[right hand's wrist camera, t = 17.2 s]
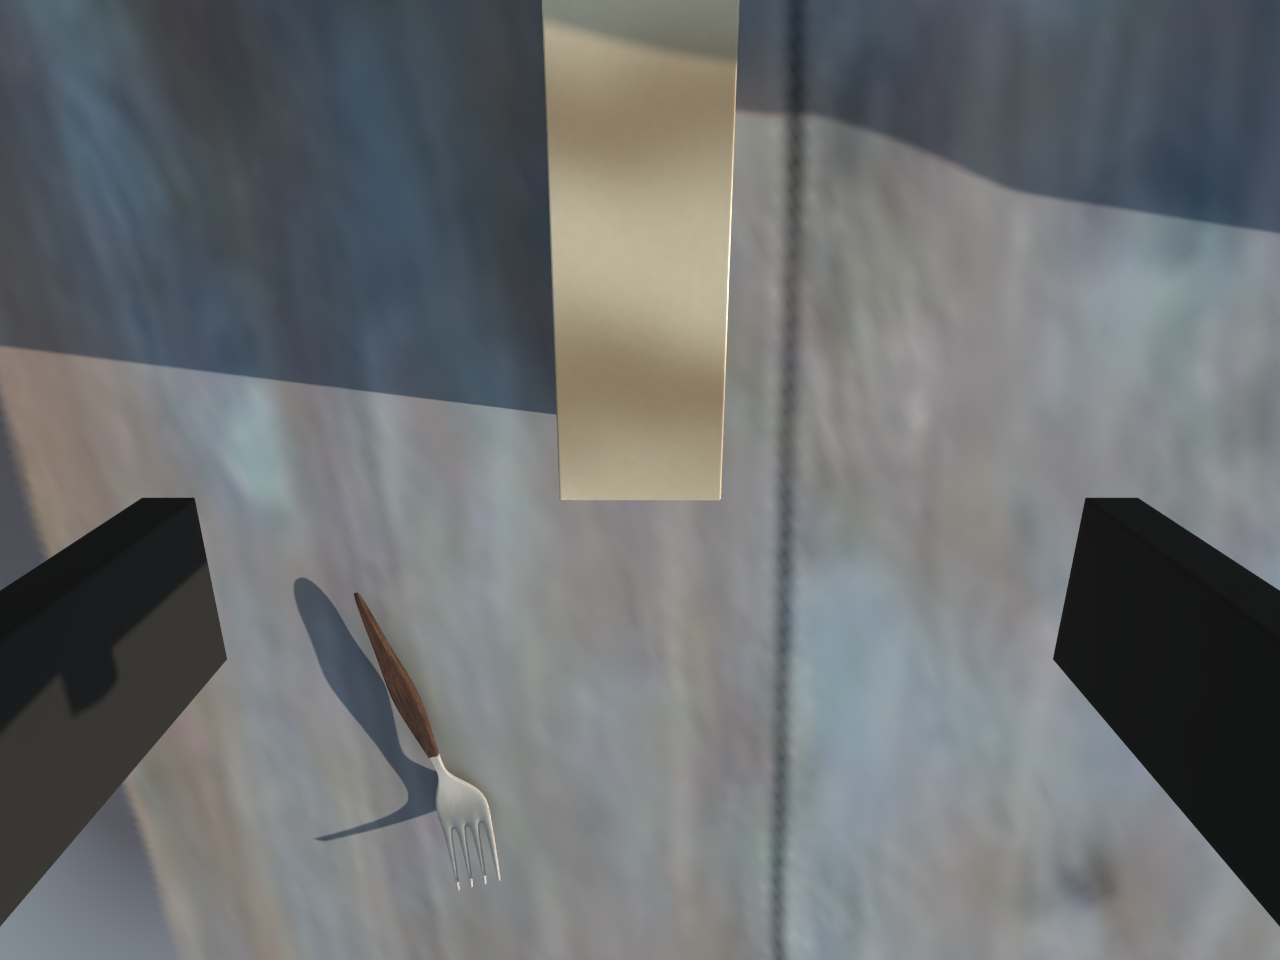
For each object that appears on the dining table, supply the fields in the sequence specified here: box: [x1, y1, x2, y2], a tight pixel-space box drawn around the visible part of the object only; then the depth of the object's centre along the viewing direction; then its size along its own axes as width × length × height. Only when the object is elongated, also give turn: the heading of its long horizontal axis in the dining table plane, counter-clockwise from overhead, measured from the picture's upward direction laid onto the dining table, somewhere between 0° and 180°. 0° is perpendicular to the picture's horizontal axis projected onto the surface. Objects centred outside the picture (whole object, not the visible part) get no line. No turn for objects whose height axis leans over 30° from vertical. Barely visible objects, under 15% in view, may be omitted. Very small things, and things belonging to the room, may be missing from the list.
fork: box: [354, 593, 500, 890], centre depth 38 cm, size 3×16×2 cm, turn 17°
